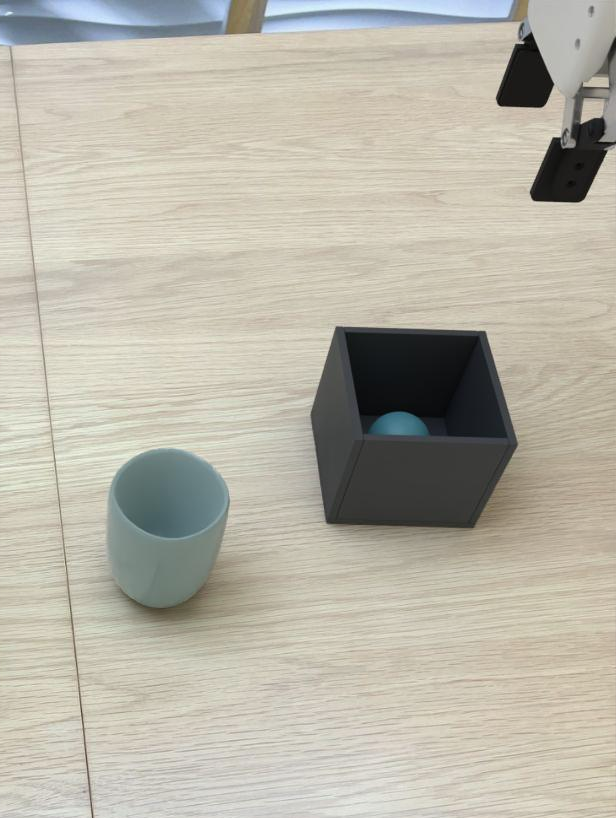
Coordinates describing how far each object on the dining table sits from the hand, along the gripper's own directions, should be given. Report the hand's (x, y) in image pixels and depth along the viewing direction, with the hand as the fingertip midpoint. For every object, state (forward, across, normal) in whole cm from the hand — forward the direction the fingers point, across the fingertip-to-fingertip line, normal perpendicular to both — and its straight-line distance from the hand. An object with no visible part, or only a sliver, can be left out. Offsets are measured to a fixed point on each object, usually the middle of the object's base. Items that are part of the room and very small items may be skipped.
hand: (536, 150), depth 68 cm
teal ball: (+22, -5, +4) cm, 23 cm away
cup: (+26, -16, +22) cm, 37 cm away
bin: (+25, -5, +4) cm, 26 cm away
